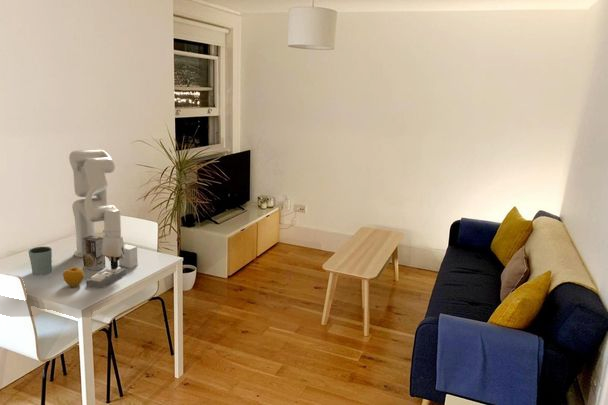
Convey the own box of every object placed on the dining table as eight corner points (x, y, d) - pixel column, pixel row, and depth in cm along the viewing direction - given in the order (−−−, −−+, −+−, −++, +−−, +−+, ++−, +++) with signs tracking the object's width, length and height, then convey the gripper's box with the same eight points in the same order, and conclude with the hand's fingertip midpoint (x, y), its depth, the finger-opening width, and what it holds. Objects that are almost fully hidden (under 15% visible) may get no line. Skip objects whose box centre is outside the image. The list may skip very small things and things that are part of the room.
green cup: (48, 276, 226) (47, 253, 223) (26, 276, 225) (24, 253, 222) (56, 268, 236) (54, 246, 233) (34, 268, 234) (33, 246, 231)
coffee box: (106, 266, 242) (104, 237, 238) (97, 270, 236) (95, 241, 232) (92, 263, 245) (90, 235, 241) (82, 267, 239) (81, 238, 235)
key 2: (113, 271, 234) (113, 265, 233) (121, 272, 233) (121, 267, 232) (107, 274, 230) (107, 269, 229) (115, 276, 229) (115, 270, 228)
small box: (138, 265, 247) (137, 246, 244) (130, 268, 242) (129, 249, 239) (126, 262, 250) (126, 243, 247) (118, 265, 245) (118, 246, 242)
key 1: (97, 279, 222) (97, 273, 222) (105, 280, 221) (105, 274, 221) (91, 282, 218) (90, 276, 217) (99, 284, 217) (99, 278, 216)
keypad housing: (111, 271, 236) (111, 266, 235) (125, 274, 234) (125, 268, 233) (86, 286, 218) (86, 280, 217) (101, 288, 216) (101, 282, 215)
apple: (75, 280, 223) (74, 263, 221) (89, 284, 220) (88, 266, 218) (59, 286, 215) (58, 269, 213) (73, 291, 212) (72, 272, 210)
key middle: (105, 277, 228) (105, 271, 228) (113, 278, 227) (113, 272, 227) (99, 280, 224) (99, 274, 223) (107, 281, 223) (107, 276, 222)
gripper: (94, 233, 224) (96, 268, 228) (121, 237, 221) (122, 272, 225) (104, 229, 231) (106, 263, 236) (130, 233, 228) (132, 267, 232)
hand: (114, 268), depth 230 cm, fingers closed
